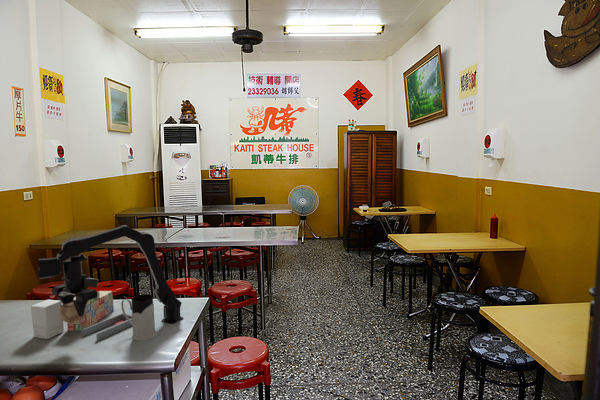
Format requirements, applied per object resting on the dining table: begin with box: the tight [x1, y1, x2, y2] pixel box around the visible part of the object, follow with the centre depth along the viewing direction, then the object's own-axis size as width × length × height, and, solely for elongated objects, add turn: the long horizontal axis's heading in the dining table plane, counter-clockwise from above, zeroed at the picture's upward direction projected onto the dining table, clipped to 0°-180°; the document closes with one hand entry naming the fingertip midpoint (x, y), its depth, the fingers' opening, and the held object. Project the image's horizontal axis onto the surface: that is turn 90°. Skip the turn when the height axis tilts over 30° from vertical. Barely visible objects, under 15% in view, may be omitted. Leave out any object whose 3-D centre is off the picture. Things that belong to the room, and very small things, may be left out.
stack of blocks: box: [66, 290, 115, 332], centre depth 160 cm, size 21×6×12 cm, turn 174°
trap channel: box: [81, 312, 133, 341], centre depth 151 cm, size 10×18×2 cm, turn 153°
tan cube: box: [60, 301, 85, 323], centre depth 137 cm, size 6×6×6 cm
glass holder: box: [121, 294, 157, 341], centre depth 145 cm, size 9×14×15 cm, turn 73°
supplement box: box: [30, 299, 65, 340], centre depth 146 cm, size 7×7×13 cm
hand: (76, 314), depth 138 cm, fingers closed on tan cube, 5 cm apart
